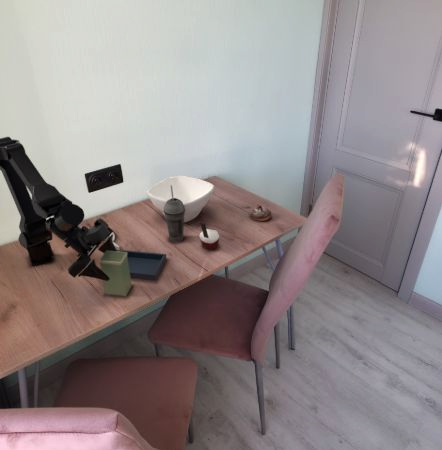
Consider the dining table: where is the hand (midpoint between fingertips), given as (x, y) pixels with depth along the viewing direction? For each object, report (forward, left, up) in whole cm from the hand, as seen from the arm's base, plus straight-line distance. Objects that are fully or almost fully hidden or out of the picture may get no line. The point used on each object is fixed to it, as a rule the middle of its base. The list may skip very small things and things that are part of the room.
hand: (115, 269), depth 114 cm
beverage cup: (+25, +19, -8) cm, 33 cm away
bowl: (+33, +34, -7) cm, 48 cm away
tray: (+8, +8, -7) cm, 14 cm away
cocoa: (+33, +9, -8) cm, 35 cm away
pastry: (+60, +20, -8) cm, 64 cm away
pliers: (+2, +27, -8) cm, 28 cm away
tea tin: (0, 0, -7) cm, 7 cm away
